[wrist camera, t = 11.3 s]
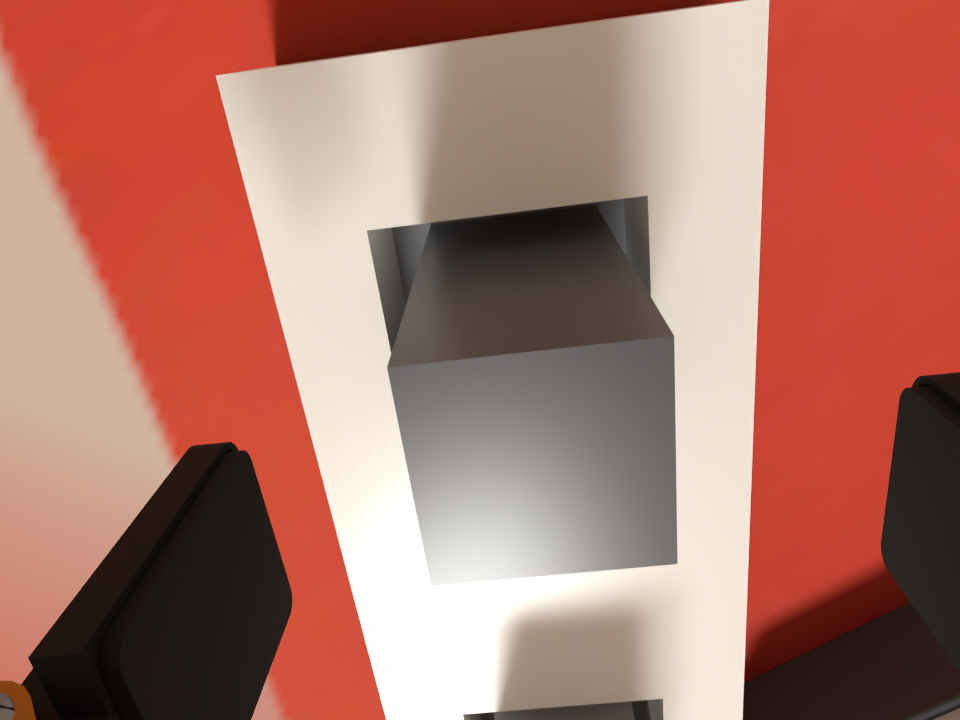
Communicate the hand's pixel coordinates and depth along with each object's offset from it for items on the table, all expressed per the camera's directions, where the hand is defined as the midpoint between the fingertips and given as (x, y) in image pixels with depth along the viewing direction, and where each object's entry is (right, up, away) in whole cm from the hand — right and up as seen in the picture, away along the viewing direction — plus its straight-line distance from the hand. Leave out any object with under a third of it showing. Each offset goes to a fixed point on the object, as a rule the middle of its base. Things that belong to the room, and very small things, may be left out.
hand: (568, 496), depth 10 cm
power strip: (+1, -2, +11) cm, 12 cm away
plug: (0, +4, +8) cm, 8 cm away
